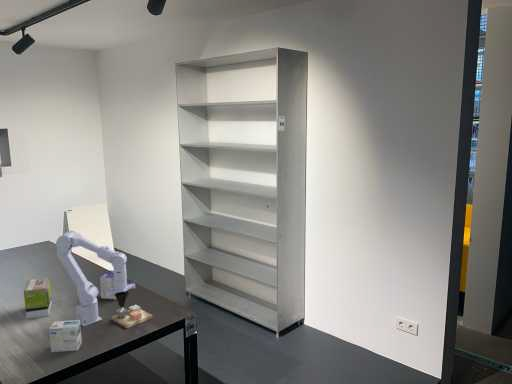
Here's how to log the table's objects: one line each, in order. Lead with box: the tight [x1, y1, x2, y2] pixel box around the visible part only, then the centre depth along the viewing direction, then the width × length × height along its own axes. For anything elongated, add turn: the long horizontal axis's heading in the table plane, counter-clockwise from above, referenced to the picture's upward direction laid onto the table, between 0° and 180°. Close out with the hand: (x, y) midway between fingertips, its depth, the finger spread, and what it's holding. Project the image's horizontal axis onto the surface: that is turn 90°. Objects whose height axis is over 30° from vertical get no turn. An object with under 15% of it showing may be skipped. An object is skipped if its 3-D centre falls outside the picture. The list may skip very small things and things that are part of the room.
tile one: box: [129, 311, 142, 320], centre depth 200 cm, size 4×4×2 cm
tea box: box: [23, 277, 52, 320], centre depth 209 cm, size 15×10×15 cm, turn 21°
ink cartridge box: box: [99, 270, 117, 300], centre depth 226 cm, size 10×6×14 cm, turn 82°
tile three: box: [115, 307, 129, 318], centre depth 201 cm, size 4×4×3 cm
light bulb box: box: [48, 319, 82, 353], centre depth 175 cm, size 11×7×11 cm, turn 99°
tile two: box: [128, 304, 142, 313], centre depth 207 cm, size 4×4×2 cm
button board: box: [111, 309, 153, 329], centre depth 202 cm, size 14×13×2 cm
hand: (121, 306), depth 201 cm, fingers closed
